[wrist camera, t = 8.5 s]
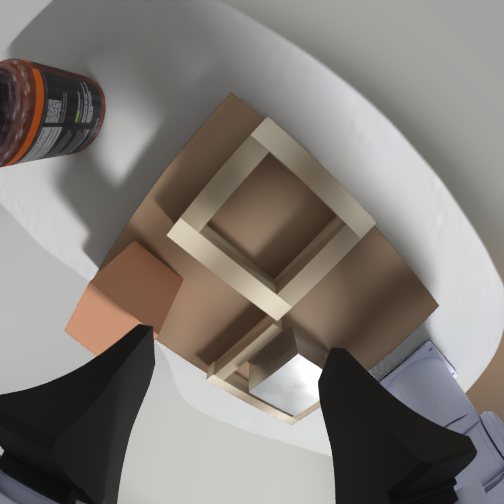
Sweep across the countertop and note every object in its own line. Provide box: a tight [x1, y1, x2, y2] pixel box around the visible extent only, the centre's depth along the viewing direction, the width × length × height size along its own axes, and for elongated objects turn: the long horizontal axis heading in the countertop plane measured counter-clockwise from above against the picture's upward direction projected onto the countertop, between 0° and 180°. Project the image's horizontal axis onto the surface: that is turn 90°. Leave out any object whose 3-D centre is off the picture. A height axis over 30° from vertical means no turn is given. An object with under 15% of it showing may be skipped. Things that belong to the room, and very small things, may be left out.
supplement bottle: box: [0, 59, 105, 167], centre depth 11 cm, size 6×6×11 cm
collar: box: [167, 116, 376, 321], centre depth 16 cm, size 8×8×2 cm
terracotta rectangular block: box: [65, 240, 184, 356], centre depth 16 cm, size 4×4×6 cm
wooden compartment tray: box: [95, 93, 439, 425], centre depth 19 cm, size 21×16×4 cm
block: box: [249, 326, 329, 416], centre depth 19 cm, size 4×4×3 cm
